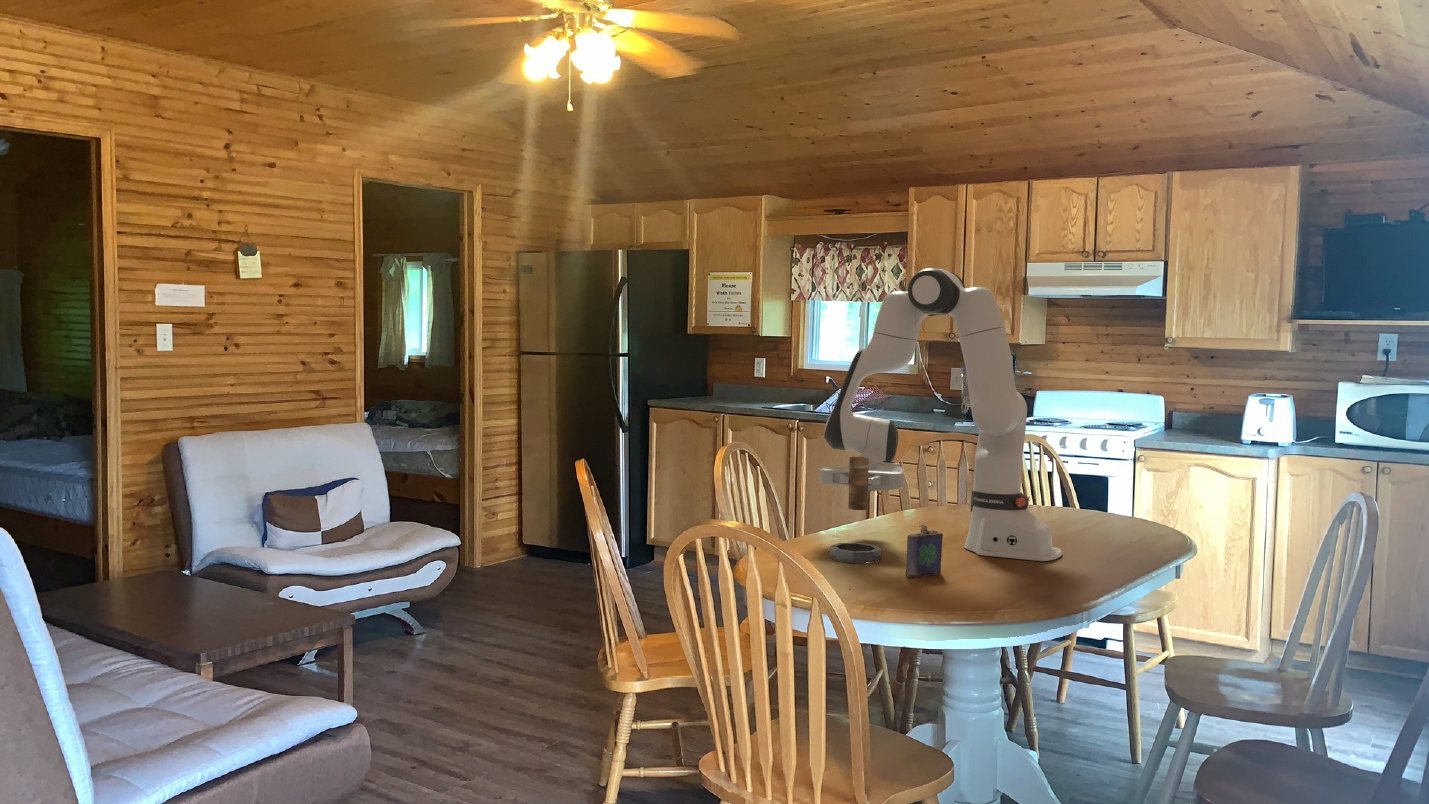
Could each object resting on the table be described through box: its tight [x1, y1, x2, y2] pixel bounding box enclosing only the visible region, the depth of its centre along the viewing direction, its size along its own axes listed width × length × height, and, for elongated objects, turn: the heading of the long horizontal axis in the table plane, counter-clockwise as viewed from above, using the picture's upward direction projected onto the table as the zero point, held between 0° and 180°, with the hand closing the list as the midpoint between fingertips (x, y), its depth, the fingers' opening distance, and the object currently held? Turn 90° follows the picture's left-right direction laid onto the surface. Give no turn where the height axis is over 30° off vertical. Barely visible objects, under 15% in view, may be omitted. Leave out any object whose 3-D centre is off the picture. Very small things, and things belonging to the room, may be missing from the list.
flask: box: [905, 524, 944, 578], centre depth 228 cm, size 9×3×11 cm, turn 121°
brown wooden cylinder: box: [847, 456, 869, 511], centre depth 250 cm, size 5×5×12 cm
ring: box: [829, 542, 882, 564], centre depth 244 cm, size 11×11×2 cm
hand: (858, 481), depth 249 cm, fingers closed on brown wooden cylinder, 4 cm apart
